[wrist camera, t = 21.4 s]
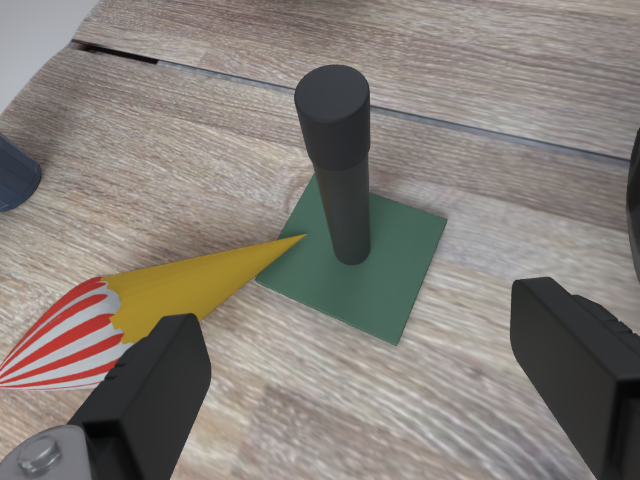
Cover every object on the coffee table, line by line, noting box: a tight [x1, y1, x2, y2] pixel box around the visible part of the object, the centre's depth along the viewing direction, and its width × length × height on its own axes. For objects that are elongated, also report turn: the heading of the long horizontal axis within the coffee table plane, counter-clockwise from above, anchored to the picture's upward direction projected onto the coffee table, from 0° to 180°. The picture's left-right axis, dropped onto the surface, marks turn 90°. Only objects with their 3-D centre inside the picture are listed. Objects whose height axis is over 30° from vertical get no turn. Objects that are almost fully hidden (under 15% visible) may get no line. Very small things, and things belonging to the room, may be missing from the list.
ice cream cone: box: [0, 234, 307, 391], centre depth 24 cm, size 6×6×20 cm
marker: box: [294, 65, 370, 265], centre depth 20 cm, size 3×3×14 cm
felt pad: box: [255, 174, 447, 346], centre depth 26 cm, size 9×10×1 cm
